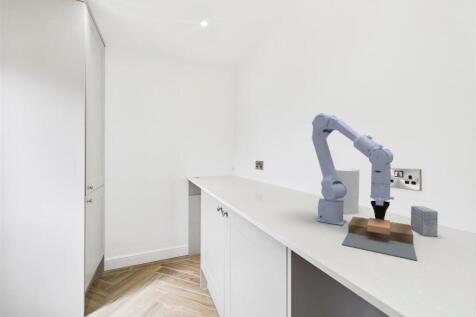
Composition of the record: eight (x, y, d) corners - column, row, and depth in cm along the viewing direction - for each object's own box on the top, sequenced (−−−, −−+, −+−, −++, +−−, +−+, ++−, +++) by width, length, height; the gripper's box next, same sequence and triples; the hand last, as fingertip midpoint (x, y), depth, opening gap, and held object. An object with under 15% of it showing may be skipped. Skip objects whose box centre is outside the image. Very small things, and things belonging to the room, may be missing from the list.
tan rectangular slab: (367, 230, 73) (367, 224, 73) (369, 223, 81) (369, 217, 81) (389, 234, 70) (389, 228, 70) (389, 226, 78) (389, 220, 78)
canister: (359, 209, 114) (360, 169, 113) (357, 215, 102) (358, 171, 102) (330, 206, 121) (330, 168, 120) (325, 211, 109) (326, 169, 108)
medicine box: (437, 237, 77) (438, 211, 77) (422, 236, 78) (423, 210, 78) (423, 229, 85) (424, 206, 84) (410, 228, 85) (410, 205, 85)
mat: (341, 245, 69) (341, 244, 69) (347, 233, 79) (347, 232, 79) (417, 261, 59) (417, 259, 59) (413, 245, 69) (413, 244, 69)
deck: (348, 232, 80) (348, 224, 80) (352, 224, 90) (353, 216, 90) (412, 244, 70) (413, 234, 70) (410, 233, 80) (410, 224, 80)
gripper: (394, 186, 71) (393, 230, 72) (393, 182, 84) (393, 219, 84) (369, 185, 75) (368, 225, 76) (371, 180, 87) (370, 216, 88)
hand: (379, 222), depth 80 cm, fingers closed
